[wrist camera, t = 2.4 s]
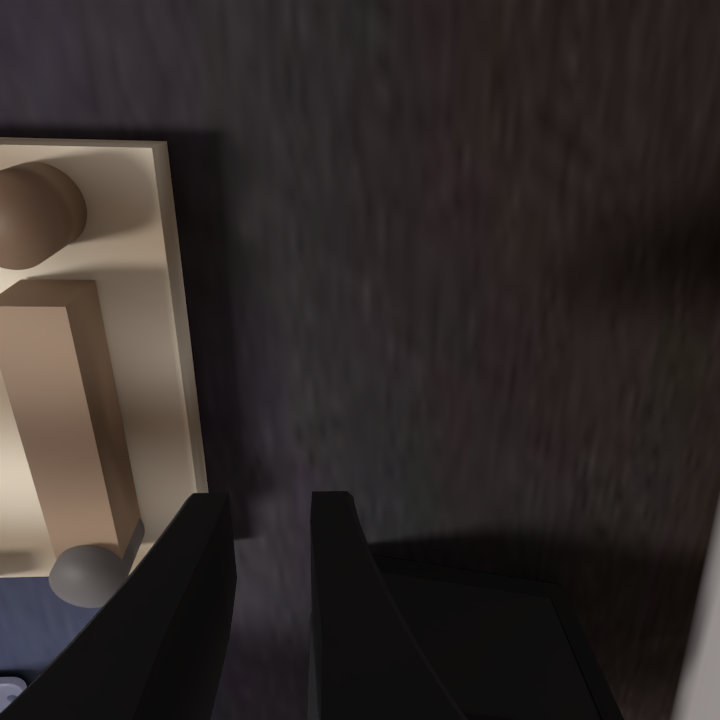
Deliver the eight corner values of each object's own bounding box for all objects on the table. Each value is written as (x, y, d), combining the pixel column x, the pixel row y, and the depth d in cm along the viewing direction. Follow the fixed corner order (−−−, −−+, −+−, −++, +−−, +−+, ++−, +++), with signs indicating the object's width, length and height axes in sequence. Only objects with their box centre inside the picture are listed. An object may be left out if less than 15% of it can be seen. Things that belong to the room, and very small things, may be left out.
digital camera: (301, 634, 25) (292, 817, 19) (329, 546, 23) (330, 721, 17) (515, 662, 27) (571, 840, 21) (562, 583, 25) (640, 756, 19)
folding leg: (149, 548, 20) (128, 607, 18) (86, 549, 20) (57, 608, 18) (98, 279, 16) (61, 314, 14) (17, 279, 16) (-34, 314, 14)
